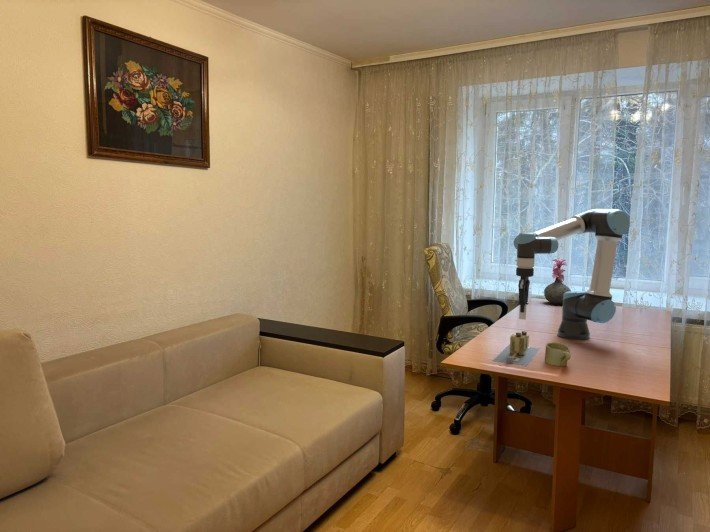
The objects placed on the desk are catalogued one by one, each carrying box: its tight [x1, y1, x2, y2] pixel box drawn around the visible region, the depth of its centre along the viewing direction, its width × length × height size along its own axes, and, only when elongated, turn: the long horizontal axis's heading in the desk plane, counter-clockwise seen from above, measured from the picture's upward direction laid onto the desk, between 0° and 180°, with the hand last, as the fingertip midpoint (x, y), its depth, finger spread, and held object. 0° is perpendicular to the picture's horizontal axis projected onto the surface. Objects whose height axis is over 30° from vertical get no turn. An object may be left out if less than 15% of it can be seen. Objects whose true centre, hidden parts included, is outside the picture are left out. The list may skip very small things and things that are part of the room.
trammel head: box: [509, 332, 526, 355], centre depth 232 cm, size 6×4×9 cm
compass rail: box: [505, 330, 530, 365], centre depth 231 cm, size 4×29×7 cm, turn 151°
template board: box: [492, 343, 541, 367], centre depth 232 cm, size 14×31×1 cm, turn 150°
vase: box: [543, 258, 572, 306], centre depth 349 cm, size 17×18×30 cm
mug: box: [544, 342, 572, 368], centre depth 218 cm, size 12×10×10 cm
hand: (522, 318), depth 237 cm, fingers closed
